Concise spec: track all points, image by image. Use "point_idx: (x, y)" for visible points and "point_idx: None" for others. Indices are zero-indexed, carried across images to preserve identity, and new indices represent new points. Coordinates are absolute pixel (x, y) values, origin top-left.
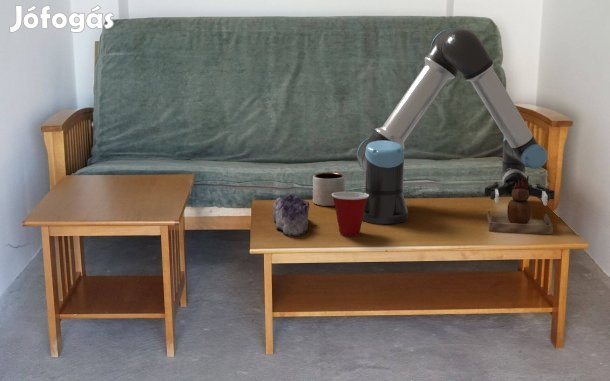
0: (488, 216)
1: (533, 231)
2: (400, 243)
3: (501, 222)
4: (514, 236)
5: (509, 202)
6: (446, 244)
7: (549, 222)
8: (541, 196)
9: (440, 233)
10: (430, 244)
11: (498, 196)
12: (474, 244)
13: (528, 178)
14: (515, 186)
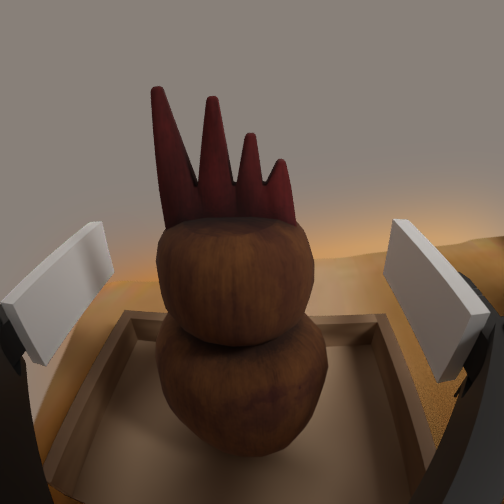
0: (418, 396)
1: None
2: (494, 244)
3: (340, 443)
4: None
5: (319, 336)
6: None
7: (110, 346)
8: (20, 374)
9: (485, 293)
10: (455, 245)
11: (392, 232)
12: (381, 253)
13: (156, 113)
14: (284, 193)
